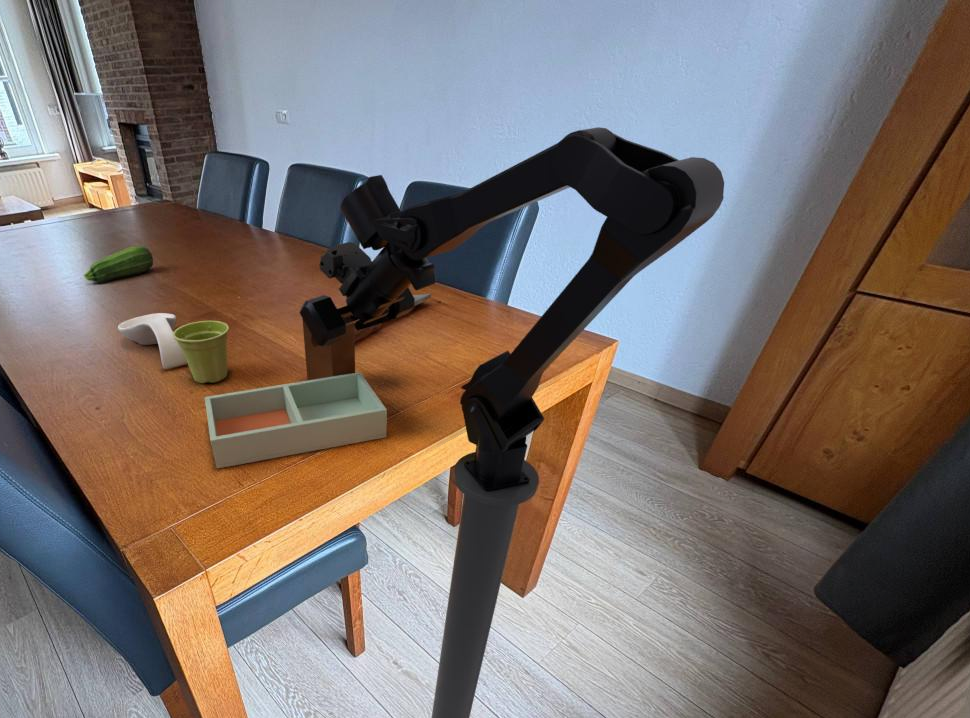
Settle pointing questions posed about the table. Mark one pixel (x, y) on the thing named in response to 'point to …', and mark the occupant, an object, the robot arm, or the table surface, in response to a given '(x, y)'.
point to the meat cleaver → (366, 331)
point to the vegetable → (121, 264)
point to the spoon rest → (156, 336)
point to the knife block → (330, 355)
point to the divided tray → (293, 419)
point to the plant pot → (204, 349)
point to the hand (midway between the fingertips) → (335, 335)
